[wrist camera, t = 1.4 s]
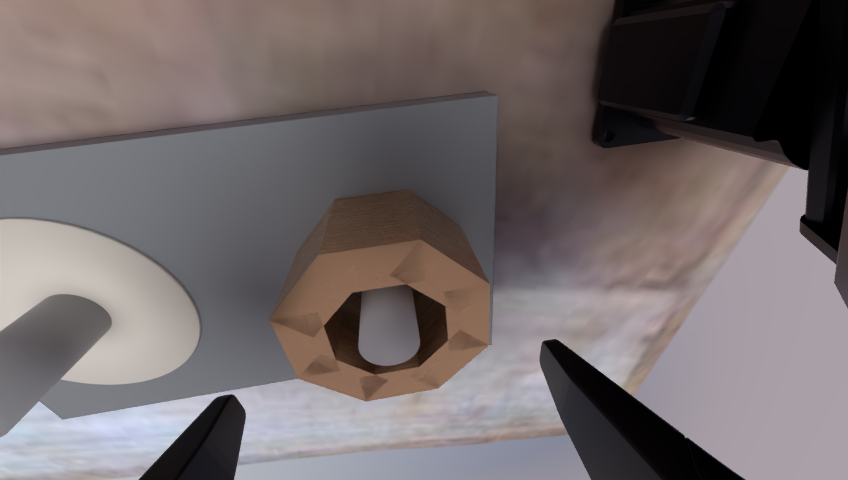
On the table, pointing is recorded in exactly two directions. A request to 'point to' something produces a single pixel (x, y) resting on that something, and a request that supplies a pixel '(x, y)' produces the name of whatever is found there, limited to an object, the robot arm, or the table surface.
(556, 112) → the table surface
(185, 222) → the board
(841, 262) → the robot arm
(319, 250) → the wooden ring
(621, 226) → the table surface
